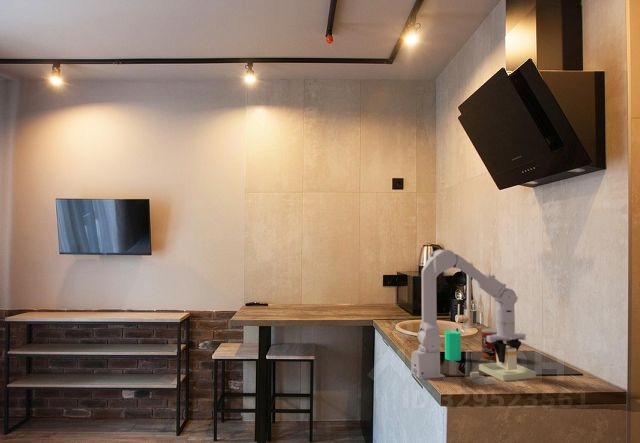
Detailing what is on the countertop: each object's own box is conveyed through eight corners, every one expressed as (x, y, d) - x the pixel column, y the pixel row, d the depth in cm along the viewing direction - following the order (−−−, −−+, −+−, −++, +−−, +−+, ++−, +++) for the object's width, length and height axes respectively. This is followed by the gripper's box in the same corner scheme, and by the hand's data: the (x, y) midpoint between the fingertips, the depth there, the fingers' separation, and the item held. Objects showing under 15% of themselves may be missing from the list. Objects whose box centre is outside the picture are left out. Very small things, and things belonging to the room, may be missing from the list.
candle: (461, 361, 172) (461, 330, 173) (445, 360, 174) (445, 329, 174) (460, 357, 178) (459, 327, 179) (444, 356, 180) (444, 326, 180)
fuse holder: (480, 387, 142) (480, 380, 142) (464, 378, 151) (464, 372, 151) (499, 385, 144) (499, 378, 144) (482, 377, 153) (481, 370, 153)
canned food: (477, 356, 180) (477, 328, 180) (493, 354, 182) (493, 327, 183) (491, 361, 172) (490, 332, 173) (507, 359, 175) (507, 331, 176)
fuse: (508, 370, 151) (507, 349, 152) (496, 365, 157) (496, 345, 157) (517, 369, 152) (516, 348, 153) (505, 364, 158) (504, 344, 158)
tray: (503, 382, 147) (503, 375, 147) (479, 371, 159) (478, 364, 159) (536, 379, 150) (536, 371, 150) (509, 368, 163) (509, 361, 163)
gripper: (495, 325, 149) (496, 366, 149) (531, 323, 153) (532, 363, 153) (482, 321, 156) (483, 360, 156) (517, 319, 160) (518, 357, 160)
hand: (506, 361), depth 155 cm, fingers closed on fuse, 3 cm apart
